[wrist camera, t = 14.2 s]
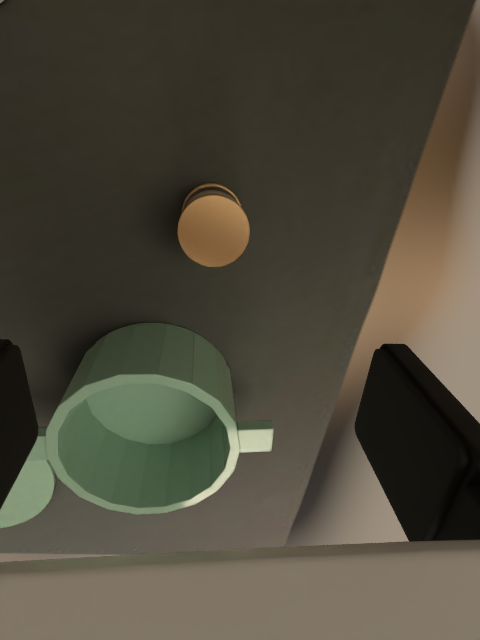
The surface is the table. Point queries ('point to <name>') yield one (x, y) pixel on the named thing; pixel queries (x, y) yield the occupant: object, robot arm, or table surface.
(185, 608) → the robot arm
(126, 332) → the pot
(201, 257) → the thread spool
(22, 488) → the pot lid
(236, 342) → the table surface
